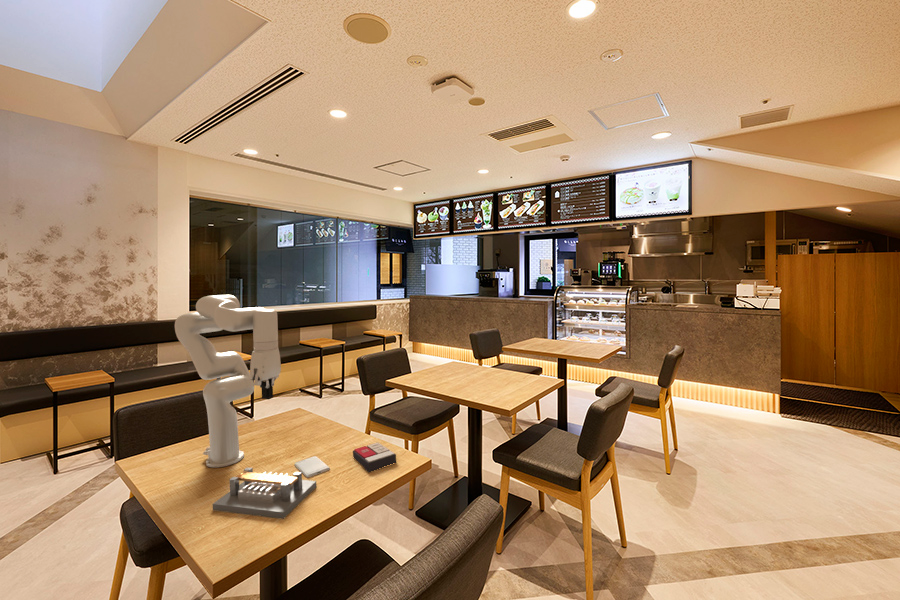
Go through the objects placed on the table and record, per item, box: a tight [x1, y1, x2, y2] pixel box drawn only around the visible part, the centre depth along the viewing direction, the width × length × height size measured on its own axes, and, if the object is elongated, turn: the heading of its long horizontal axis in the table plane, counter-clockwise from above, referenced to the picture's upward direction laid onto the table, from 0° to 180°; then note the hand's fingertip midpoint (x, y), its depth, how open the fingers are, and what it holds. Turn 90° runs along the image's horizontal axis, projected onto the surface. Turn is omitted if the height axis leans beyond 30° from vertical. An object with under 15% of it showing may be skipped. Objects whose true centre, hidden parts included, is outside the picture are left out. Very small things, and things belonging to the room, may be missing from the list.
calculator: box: [352, 442, 397, 473], centre depth 144 cm, size 11×4×15 cm
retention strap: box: [235, 470, 298, 486], centre depth 120 cm, size 20×4×2 cm, turn 77°
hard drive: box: [294, 455, 331, 479], centre depth 139 cm, size 2×8×12 cm
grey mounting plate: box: [212, 479, 318, 520], centre depth 120 cm, size 24×17×2 cm
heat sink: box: [228, 466, 303, 503], centre depth 120 cm, size 20×10×5 cm, turn 77°
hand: (267, 398), depth 132 cm, fingers closed
